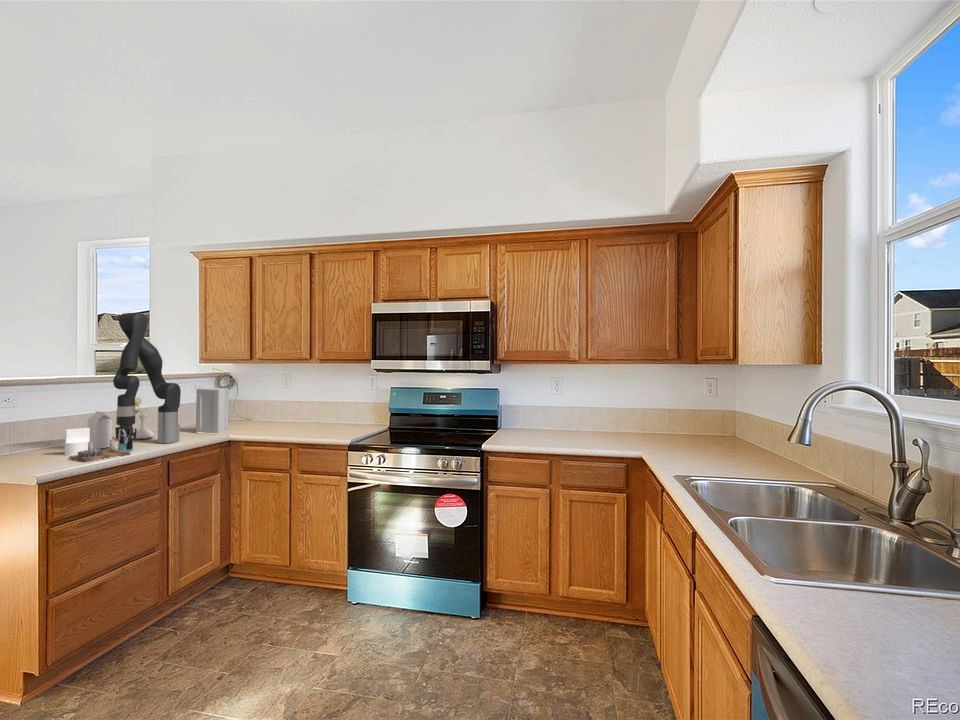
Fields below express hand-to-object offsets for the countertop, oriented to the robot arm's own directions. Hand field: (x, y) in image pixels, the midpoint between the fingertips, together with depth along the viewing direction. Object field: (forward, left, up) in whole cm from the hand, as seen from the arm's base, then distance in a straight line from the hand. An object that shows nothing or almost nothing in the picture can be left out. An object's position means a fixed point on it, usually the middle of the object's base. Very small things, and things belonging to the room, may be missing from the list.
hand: (125, 448), depth 226 cm
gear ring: (0, 0, -1) cm, 1 cm away
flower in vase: (-25, -32, -1) cm, 41 cm away
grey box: (-61, -17, -1) cm, 63 cm away
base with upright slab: (+14, -13, -1) cm, 19 cm away
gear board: (+14, +7, -1) cm, 16 cm away
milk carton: (+2, -19, -1) cm, 19 cm away
